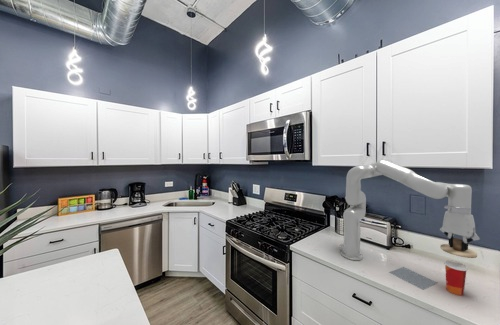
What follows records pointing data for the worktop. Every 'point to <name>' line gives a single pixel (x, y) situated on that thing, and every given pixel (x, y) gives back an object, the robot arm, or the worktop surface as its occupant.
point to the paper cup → (455, 277)
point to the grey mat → (413, 278)
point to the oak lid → (458, 249)
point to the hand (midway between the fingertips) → (458, 248)
